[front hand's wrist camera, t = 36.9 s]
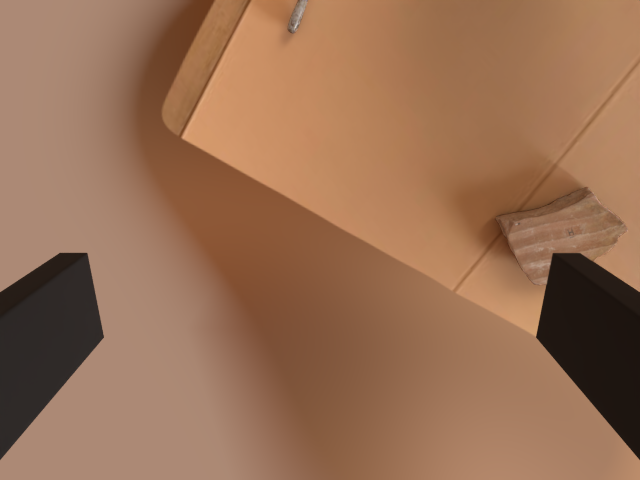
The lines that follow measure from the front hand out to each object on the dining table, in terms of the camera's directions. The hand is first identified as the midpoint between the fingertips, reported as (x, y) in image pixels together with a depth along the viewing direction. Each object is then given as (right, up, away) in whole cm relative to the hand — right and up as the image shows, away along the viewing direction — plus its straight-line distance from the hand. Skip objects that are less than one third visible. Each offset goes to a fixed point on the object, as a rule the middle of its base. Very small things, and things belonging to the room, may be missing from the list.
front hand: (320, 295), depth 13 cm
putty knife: (-2, +27, +33) cm, 43 cm away
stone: (+29, +3, +42) cm, 51 cm away
